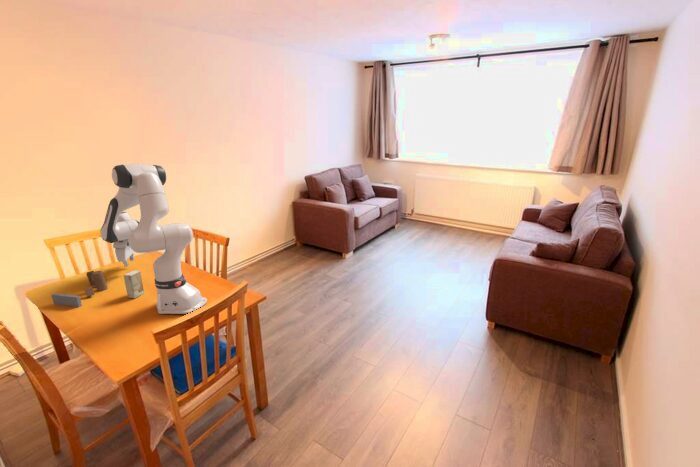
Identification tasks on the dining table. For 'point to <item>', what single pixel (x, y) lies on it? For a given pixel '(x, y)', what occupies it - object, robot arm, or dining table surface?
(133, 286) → the skincare box
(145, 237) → the robot arm
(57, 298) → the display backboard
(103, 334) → the dining table surface
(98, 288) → the wooden block set
